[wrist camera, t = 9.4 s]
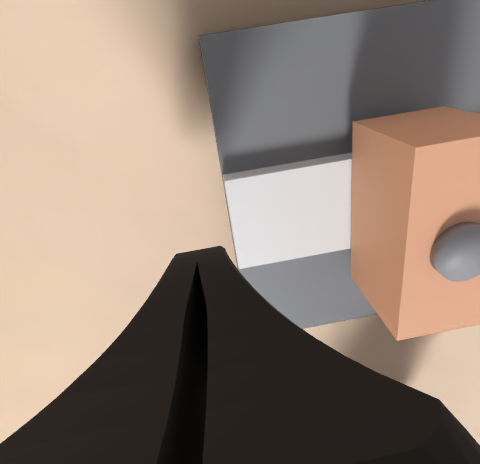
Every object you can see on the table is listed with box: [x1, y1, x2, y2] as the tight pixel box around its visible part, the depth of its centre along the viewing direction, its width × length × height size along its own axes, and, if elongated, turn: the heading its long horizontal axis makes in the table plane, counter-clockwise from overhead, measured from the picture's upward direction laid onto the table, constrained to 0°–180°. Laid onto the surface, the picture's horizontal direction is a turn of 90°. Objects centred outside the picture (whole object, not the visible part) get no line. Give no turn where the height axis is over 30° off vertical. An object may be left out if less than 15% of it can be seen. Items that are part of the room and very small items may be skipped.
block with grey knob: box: [351, 106, 480, 341], centre depth 11 cm, size 3×6×4 cm, turn 8°
